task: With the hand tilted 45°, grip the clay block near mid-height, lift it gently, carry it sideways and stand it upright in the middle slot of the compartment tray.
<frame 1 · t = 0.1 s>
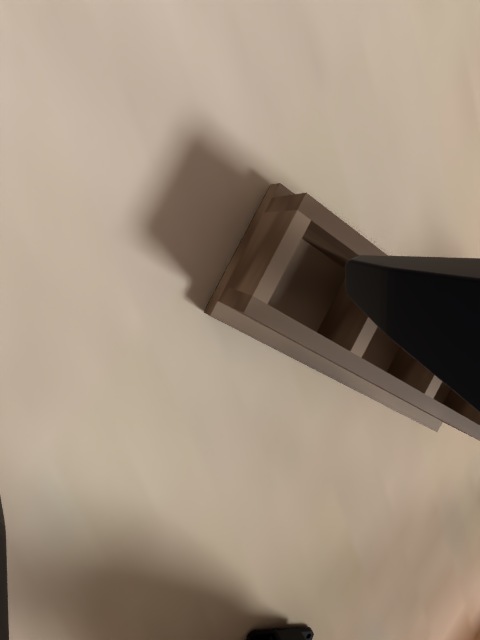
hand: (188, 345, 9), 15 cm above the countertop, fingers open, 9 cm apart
compartment tray: (361, 325, 31), on the countertop
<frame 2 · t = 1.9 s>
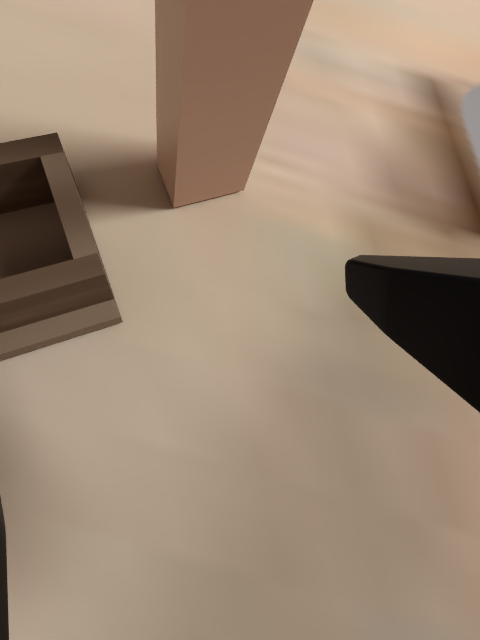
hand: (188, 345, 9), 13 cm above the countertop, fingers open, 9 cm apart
clay block: (200, 177, 25), on the countertop
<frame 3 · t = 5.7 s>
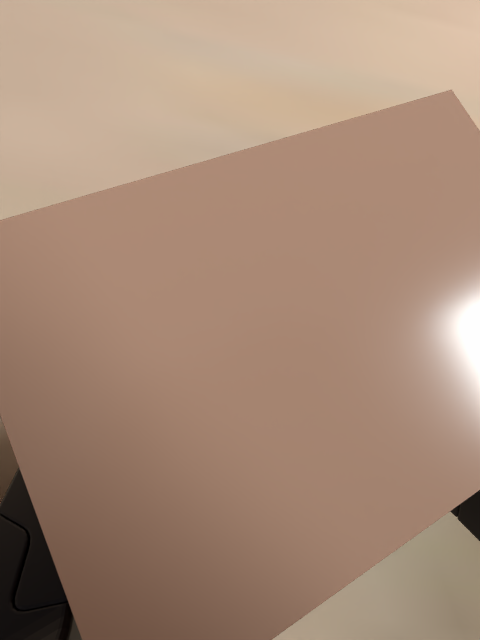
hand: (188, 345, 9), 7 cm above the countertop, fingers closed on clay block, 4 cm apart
clay block: (190, 419, 15), on the countertop, touching gripper
when the fingers open (9 cm above the countertop, at t = 11.3 s): clay block stays where it is, resting on compartment tray.
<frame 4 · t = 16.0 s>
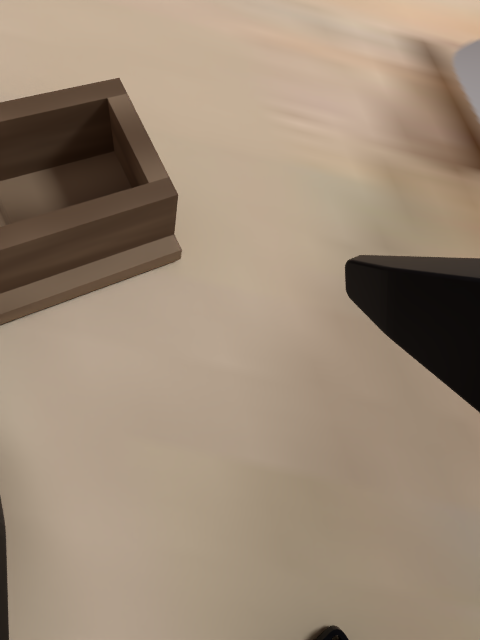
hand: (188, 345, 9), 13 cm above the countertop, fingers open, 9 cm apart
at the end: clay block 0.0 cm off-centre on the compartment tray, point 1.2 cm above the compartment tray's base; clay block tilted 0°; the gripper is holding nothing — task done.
